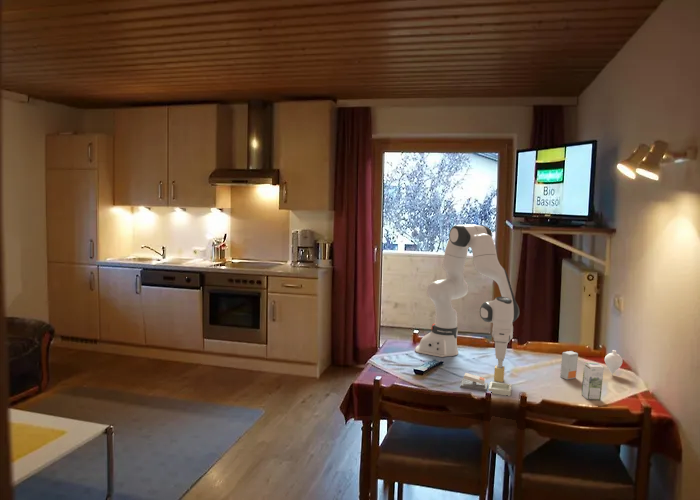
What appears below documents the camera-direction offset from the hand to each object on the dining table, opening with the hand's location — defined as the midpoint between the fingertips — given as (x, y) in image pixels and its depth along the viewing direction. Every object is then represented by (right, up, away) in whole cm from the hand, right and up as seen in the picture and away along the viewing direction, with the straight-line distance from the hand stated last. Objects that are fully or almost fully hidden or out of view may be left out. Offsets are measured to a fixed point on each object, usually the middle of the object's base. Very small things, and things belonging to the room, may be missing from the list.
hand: (500, 363), depth 247 cm
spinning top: (+56, -8, +13) cm, 59 cm away
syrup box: (+33, -11, -17) cm, 39 cm away
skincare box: (+33, -8, +7) cm, 35 cm away
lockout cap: (-1, -8, +1) cm, 8 cm away
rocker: (-14, -5, -8) cm, 17 cm away
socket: (-4, -9, -12) cm, 16 cm away
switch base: (-14, -8, -8) cm, 18 cm away
